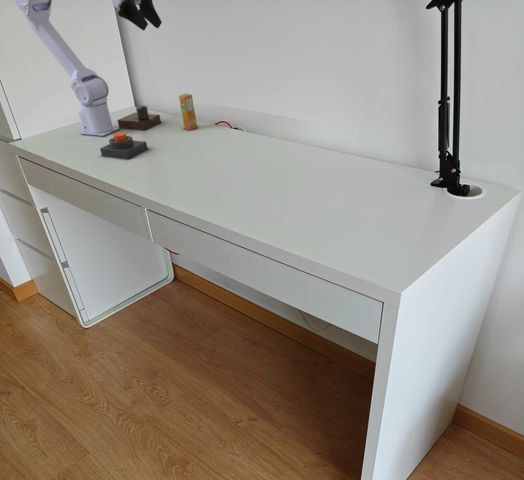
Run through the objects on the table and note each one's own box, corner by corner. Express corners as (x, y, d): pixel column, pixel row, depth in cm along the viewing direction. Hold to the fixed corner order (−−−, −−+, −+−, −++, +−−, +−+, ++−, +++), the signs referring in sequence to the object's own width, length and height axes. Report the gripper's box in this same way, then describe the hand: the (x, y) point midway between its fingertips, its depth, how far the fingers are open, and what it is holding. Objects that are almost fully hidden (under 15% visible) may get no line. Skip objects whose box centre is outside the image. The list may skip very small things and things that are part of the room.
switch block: (101, 156, 146) (98, 141, 143) (121, 146, 152) (118, 132, 149) (128, 159, 142) (125, 144, 139) (147, 149, 148) (144, 135, 145)
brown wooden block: (118, 128, 168) (116, 119, 166) (135, 120, 174) (134, 112, 172) (147, 130, 163) (145, 122, 161) (164, 122, 169) (162, 114, 168)
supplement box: (183, 128, 162) (178, 95, 156) (191, 126, 164) (186, 92, 157) (189, 130, 160) (184, 96, 154) (197, 128, 162) (193, 94, 155)
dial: (136, 119, 165) (133, 107, 163) (142, 116, 167) (140, 104, 165) (144, 120, 164) (142, 107, 161) (151, 117, 166) (149, 105, 164)
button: (112, 142, 144) (110, 135, 143) (120, 138, 146) (118, 132, 145) (121, 143, 142) (120, 136, 141) (129, 139, 145) (128, 132, 144)
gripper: (107, -30, 127) (146, 15, 129) (137, -29, 137) (172, 12, 140) (95, -5, 131) (133, 37, 134) (125, -7, 142) (159, 33, 145)
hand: (152, 26), depth 137 cm, fingers open, 7 cm apart
